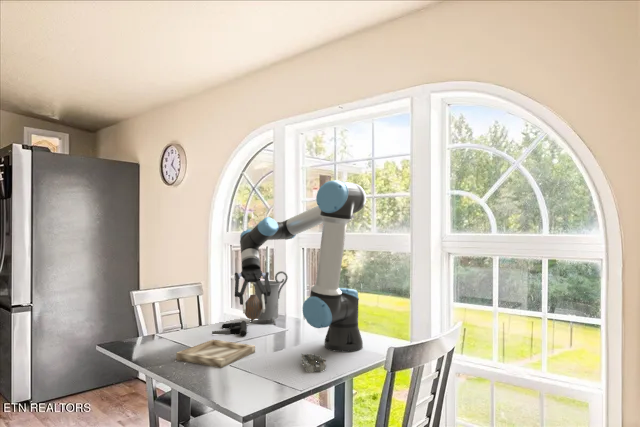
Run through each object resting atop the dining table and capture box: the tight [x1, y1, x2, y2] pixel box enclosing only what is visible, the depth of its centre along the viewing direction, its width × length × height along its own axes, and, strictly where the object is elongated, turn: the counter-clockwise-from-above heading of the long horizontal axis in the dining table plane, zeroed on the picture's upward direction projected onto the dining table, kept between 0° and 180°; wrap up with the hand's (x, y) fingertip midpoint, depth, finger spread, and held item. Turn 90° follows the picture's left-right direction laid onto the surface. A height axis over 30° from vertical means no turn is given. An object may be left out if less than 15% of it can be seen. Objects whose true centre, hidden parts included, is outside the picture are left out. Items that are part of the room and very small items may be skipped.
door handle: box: [211, 320, 250, 338], centre depth 196 cm, size 3×20×16 cm
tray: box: [175, 339, 256, 369], centre depth 160 cm, size 20×20×2 cm
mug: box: [250, 271, 289, 326], centre depth 217 cm, size 19×15×25 cm
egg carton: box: [300, 353, 327, 373], centre depth 148 cm, size 11×8×4 cm
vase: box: [244, 293, 262, 320], centre depth 167 cm, size 7×7×9 cm
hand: (254, 310), depth 163 cm, fingers closed on vase, 6 cm apart
